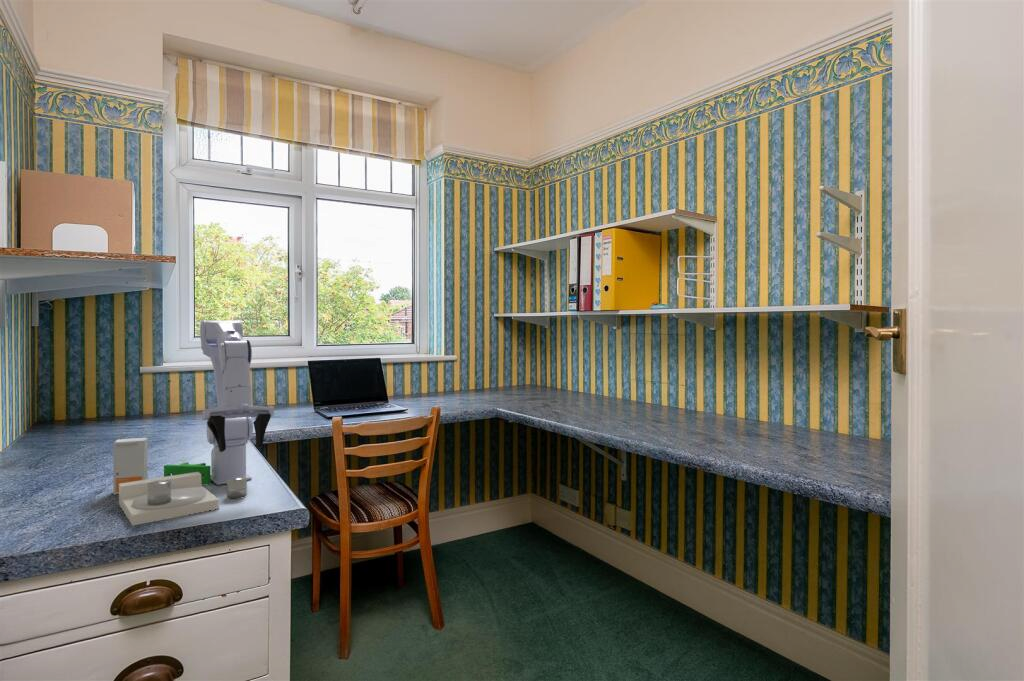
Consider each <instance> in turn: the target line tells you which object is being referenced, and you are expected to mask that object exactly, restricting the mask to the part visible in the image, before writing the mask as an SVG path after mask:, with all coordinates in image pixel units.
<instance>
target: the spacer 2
mask: <svg viewBox="0 0 1024 681" xmlns="http://www.w3.org/2000/svg"><path fill="white" fill-rule="evenodd" d="M247 482H248V480H247V477H242V476H240V477H232V478H229V479H227V483H226V498H227V499H228V498H229V499H228V500H238V499H237V498H240V499H242V498H241V497H244V498H246V497H247V496H248V490H247V488H248V483H247ZM246 495H247V496H246ZM245 496H246V497H245Z"/></svg>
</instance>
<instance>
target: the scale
mask: <svg viewBox="0 0 1024 681" xmlns="http://www.w3.org/2000/svg"><path fill="white" fill-rule="evenodd" d="M158 480H170V481H171V502H169V503H167V504H163V505H156V506H150V505H148V504H147V484H148V483H150V482H153V481H158ZM118 505H119V507H120V508H122V509H121V510H122V511H124V512H123V513H124V515H125V516H126V518H127V519H129V523H130V525H131V526H132V527H133V526H138V525H139V526H140V525H143V524H148V523H154V521H155V522H158V521H163V520H164V519H165V520H169V519H174V518H179V517H180V518H181V517H185V516H189V514H191V515H194V513H196V514H200V513H199V512H201V513H205V511H206V512H209V510H211V511H216V510H220V500H219V498H217V497H216V495H214V494H213V493H212V492H210V491H209V490H208V489H207V488H205V487H204V486H203V485H201V474H200V473H199V472H194V473H187V474H180V475H174V476H172V475H171V476H167V477H164V476H162V477H161V476H160V477H156V478H149V479H147V480H140V481H134V482H127V483H120V484H119V494H118ZM215 509H216V510H215ZM165 520H164V521H165Z"/></svg>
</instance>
